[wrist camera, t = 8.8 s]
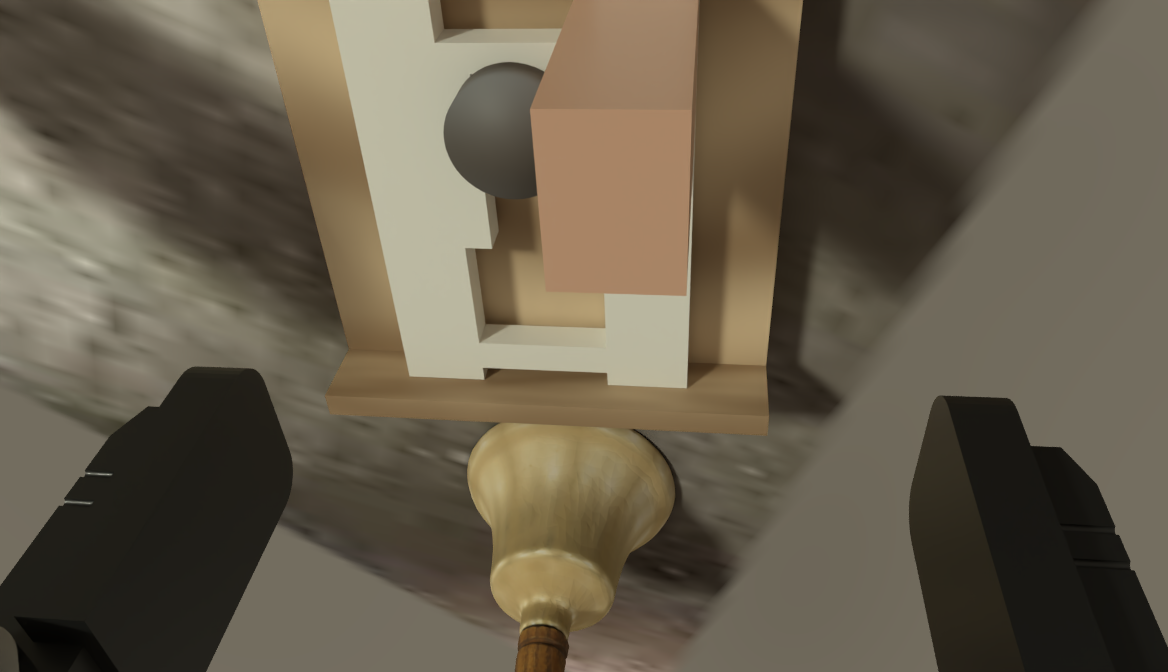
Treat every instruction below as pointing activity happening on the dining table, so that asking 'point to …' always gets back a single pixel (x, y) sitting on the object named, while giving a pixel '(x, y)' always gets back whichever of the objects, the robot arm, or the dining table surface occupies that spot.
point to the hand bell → (564, 524)
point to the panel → (467, 216)
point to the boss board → (515, 263)
